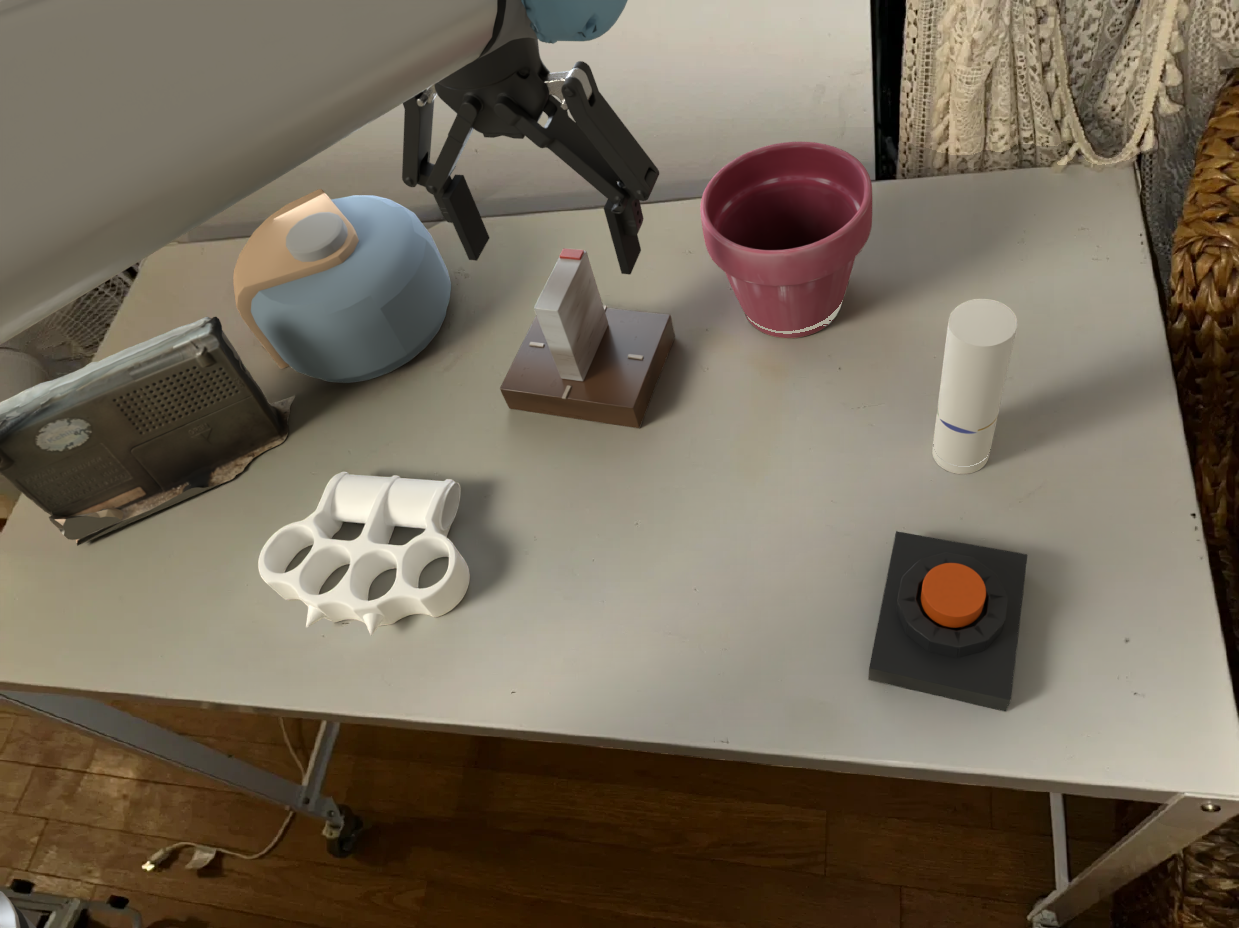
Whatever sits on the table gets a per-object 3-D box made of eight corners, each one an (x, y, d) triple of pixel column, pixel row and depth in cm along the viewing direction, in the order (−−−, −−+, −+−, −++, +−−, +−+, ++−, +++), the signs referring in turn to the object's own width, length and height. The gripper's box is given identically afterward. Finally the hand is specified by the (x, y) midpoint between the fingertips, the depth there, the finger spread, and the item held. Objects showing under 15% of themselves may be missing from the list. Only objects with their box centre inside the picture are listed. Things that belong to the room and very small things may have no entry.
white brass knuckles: (498, 496, 80) (447, 653, 72) (319, 483, 85) (253, 628, 77) (486, 475, 77) (431, 636, 69) (301, 462, 82) (231, 611, 74)
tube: (976, 424, 74) (1001, 291, 62) (998, 466, 72) (1028, 336, 60) (924, 437, 74) (938, 308, 62) (943, 479, 72) (962, 353, 60)
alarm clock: (336, 245, 105) (284, 157, 95) (487, 266, 97) (448, 173, 88) (243, 372, 95) (175, 289, 86) (401, 406, 88) (346, 319, 78)
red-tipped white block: (583, 381, 81) (556, 308, 74) (560, 378, 82) (532, 306, 74) (608, 323, 85) (586, 248, 77) (587, 321, 85) (562, 246, 78)
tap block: (639, 429, 81) (632, 407, 78) (508, 409, 85) (498, 388, 83) (675, 335, 86) (670, 312, 84) (551, 321, 91) (542, 298, 88)
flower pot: (740, 243, 92) (726, 133, 81) (883, 256, 87) (888, 141, 76) (698, 350, 85) (677, 245, 74) (851, 371, 80) (852, 262, 69)
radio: (295, 395, 92) (213, 288, 80) (306, 457, 87) (219, 353, 75) (76, 483, 91) (-41, 389, 79) (73, 552, 86) (-52, 462, 74)
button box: (1006, 712, 61) (1015, 690, 58) (868, 680, 64) (869, 657, 61) (1022, 568, 66) (1031, 541, 63) (894, 545, 69) (897, 518, 66)
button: (979, 633, 61) (982, 622, 59) (916, 620, 62) (918, 609, 61) (986, 581, 63) (989, 568, 61) (925, 569, 64) (927, 557, 63)
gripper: (671, -38, 55) (713, 233, 72) (328, -27, 63) (439, 213, 80) (632, 36, 51) (686, 303, 68) (274, 37, 59) (402, 275, 77)
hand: (553, 255), depth 74 cm, fingers open, 13 cm apart
